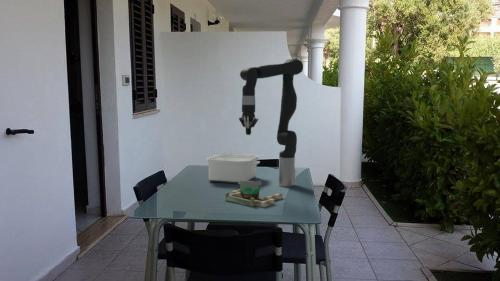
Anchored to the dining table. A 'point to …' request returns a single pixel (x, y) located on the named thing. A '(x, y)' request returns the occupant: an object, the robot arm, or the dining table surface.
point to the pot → (232, 167)
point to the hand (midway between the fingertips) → (248, 134)
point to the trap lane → (237, 194)
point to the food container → (250, 189)
